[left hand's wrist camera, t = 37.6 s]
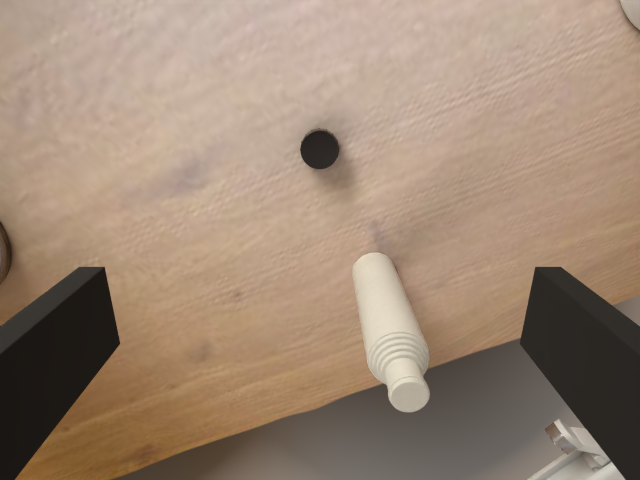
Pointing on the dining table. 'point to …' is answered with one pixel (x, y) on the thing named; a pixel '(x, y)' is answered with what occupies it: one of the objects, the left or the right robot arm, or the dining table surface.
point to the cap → (319, 148)
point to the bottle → (391, 332)
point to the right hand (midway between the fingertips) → (510, 462)
